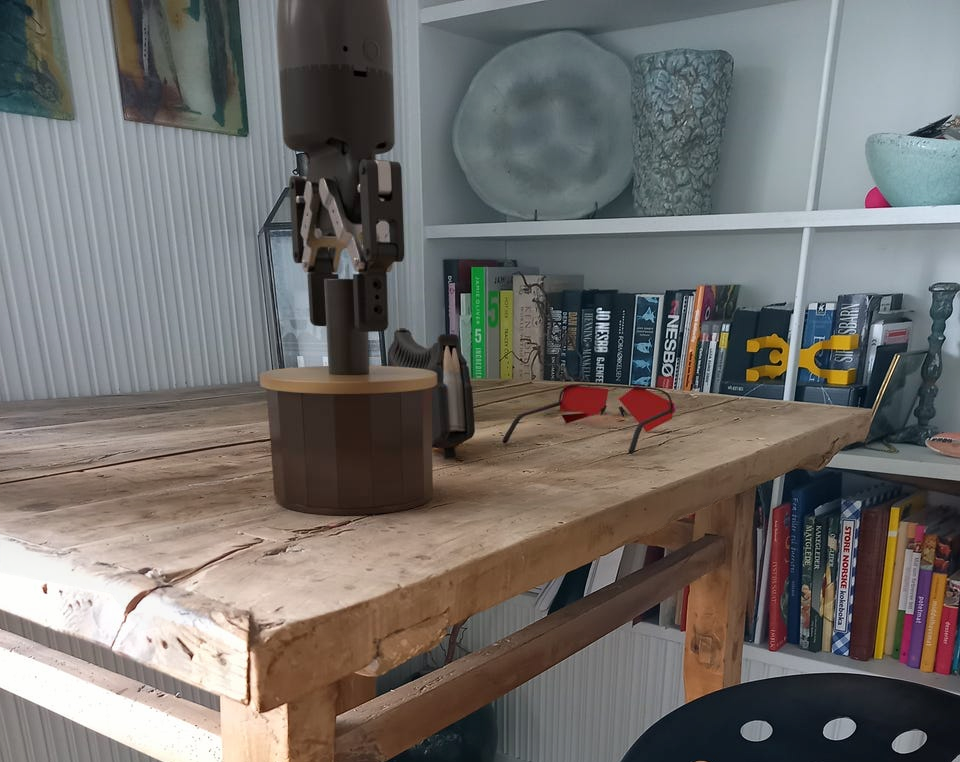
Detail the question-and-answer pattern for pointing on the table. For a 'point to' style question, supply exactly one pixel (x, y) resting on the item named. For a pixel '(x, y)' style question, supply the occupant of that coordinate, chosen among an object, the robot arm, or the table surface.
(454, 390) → the magazine
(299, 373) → the lid
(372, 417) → the brown faceted tub
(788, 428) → the table surface
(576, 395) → the glasses
